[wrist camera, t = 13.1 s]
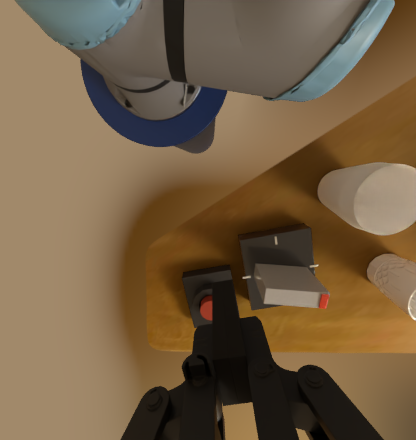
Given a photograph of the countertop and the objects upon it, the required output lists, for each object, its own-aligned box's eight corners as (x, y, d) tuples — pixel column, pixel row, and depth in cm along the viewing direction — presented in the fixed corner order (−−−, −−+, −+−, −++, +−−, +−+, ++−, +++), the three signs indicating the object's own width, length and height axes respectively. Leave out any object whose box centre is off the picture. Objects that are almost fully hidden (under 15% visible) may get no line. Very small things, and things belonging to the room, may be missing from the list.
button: (198, 296, 40) (198, 302, 38) (220, 293, 40) (220, 299, 38) (203, 315, 41) (202, 322, 39) (224, 312, 41) (224, 318, 39)
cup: (338, 150, 37) (396, 145, 25) (374, 185, 38) (445, 196, 26) (299, 192, 39) (336, 205, 27) (334, 224, 40) (384, 250, 28)
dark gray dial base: (234, 235, 41) (236, 241, 38) (307, 222, 40) (315, 227, 37) (246, 301, 44) (248, 311, 41) (313, 290, 43) (321, 300, 40)
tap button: (183, 272, 43) (180, 283, 39) (229, 264, 42) (231, 274, 38) (195, 320, 46) (193, 334, 42) (238, 313, 45) (241, 327, 41)
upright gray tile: (253, 276, 39) (264, 304, 31) (255, 263, 39) (266, 289, 31) (304, 279, 39) (327, 309, 31) (306, 266, 39) (331, 294, 31)
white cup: (399, 243, 41) (457, 268, 31) (411, 277, 42) (470, 311, 33) (357, 261, 42) (401, 291, 32) (370, 294, 43) (416, 332, 34)
